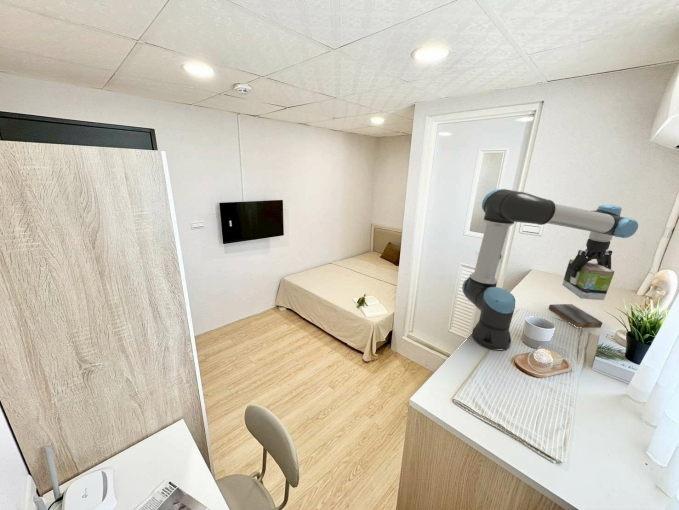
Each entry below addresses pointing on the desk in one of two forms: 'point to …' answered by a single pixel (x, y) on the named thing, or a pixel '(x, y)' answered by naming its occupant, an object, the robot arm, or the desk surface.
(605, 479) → the desk surface
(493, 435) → the desk surface
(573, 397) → the desk surface
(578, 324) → the plate
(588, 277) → the tea box
